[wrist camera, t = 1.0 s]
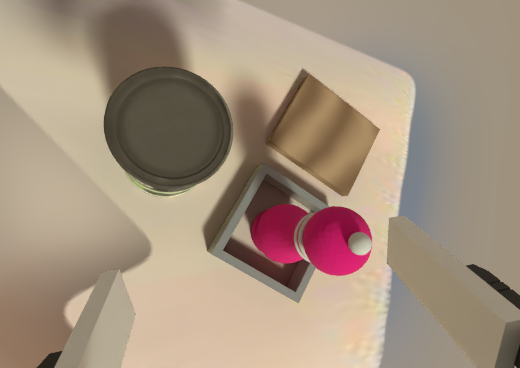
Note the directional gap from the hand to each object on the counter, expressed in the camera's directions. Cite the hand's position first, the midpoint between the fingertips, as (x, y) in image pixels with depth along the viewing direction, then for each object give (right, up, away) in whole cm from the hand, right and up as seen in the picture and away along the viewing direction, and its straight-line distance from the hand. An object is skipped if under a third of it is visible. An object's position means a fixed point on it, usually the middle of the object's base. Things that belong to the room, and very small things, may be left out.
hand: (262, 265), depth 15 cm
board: (+9, +11, +31) cm, 34 cm away
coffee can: (-12, +7, +24) cm, 28 cm away
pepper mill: (+1, -3, +27) cm, 28 cm away
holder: (+2, -3, +27) cm, 27 cm away
